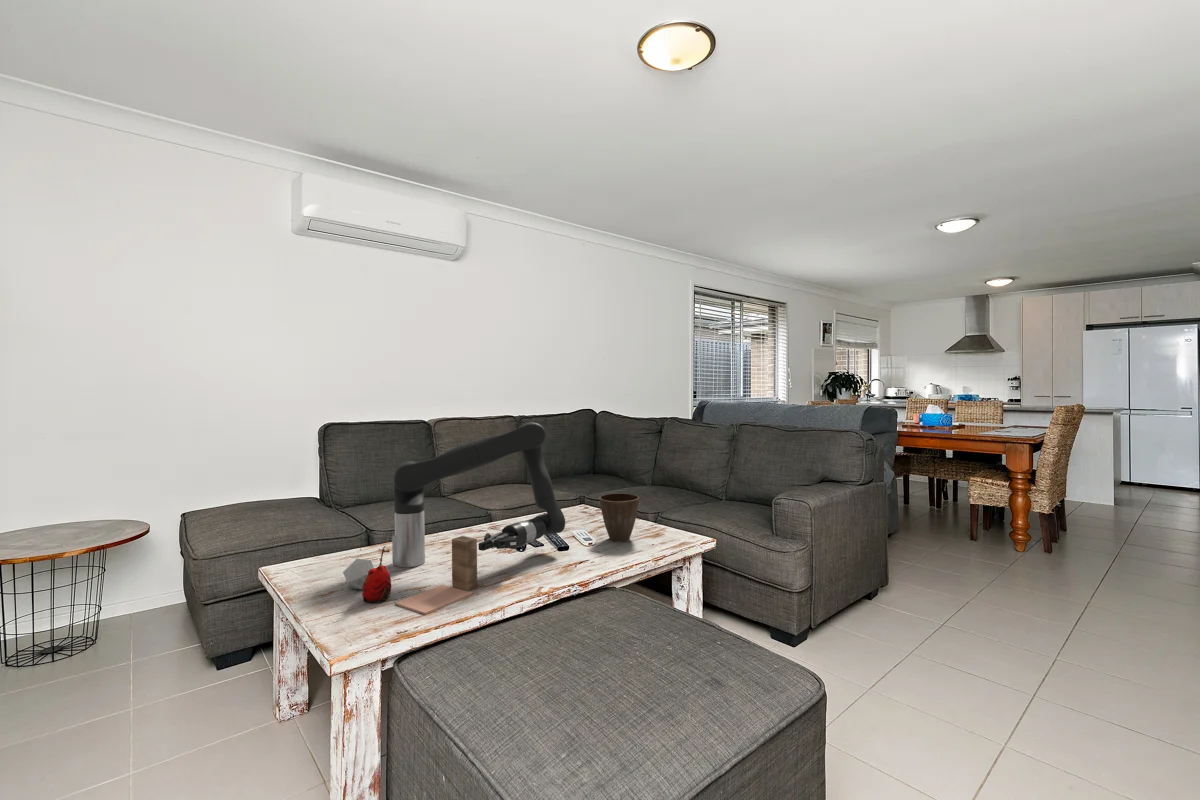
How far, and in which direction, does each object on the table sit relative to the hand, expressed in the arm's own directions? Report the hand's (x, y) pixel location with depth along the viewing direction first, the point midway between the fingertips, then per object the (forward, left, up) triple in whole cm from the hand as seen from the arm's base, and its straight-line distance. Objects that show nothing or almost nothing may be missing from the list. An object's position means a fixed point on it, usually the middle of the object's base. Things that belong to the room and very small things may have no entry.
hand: (480, 547), depth 164 cm
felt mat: (-7, -16, -10) cm, 20 cm away
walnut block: (-3, -6, -10) cm, 12 cm away
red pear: (-23, -18, -10) cm, 31 cm away
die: (-33, -10, -10) cm, 36 cm away
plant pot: (+36, +49, -10) cm, 62 cm away
